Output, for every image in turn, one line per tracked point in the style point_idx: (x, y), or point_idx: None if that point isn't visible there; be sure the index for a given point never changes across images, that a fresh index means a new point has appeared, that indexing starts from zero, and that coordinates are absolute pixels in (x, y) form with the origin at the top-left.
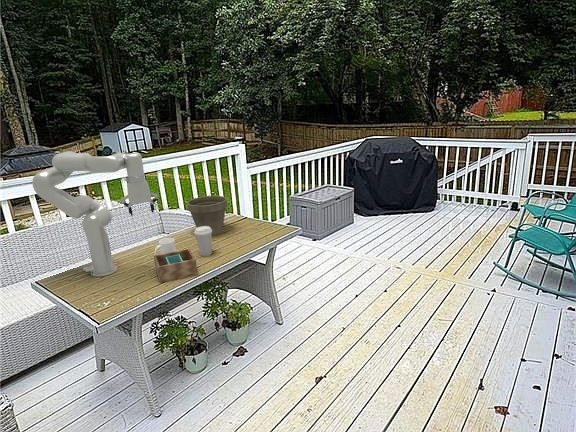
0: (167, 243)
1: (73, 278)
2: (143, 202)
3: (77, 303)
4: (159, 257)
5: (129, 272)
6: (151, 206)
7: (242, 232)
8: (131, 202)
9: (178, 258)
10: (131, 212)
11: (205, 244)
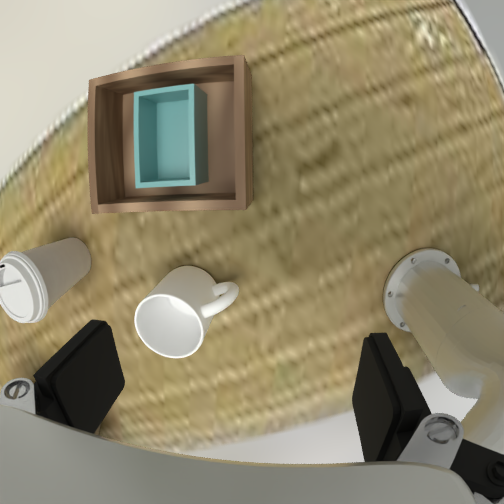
0: (165, 293)
1: (495, 283)
2: (105, 438)
3: (493, 91)
4: (221, 198)
5: (350, 233)
6: (58, 363)
7: (6, 348)
8: (438, 486)
9: (148, 181)
10: (389, 356)
11: (46, 245)
